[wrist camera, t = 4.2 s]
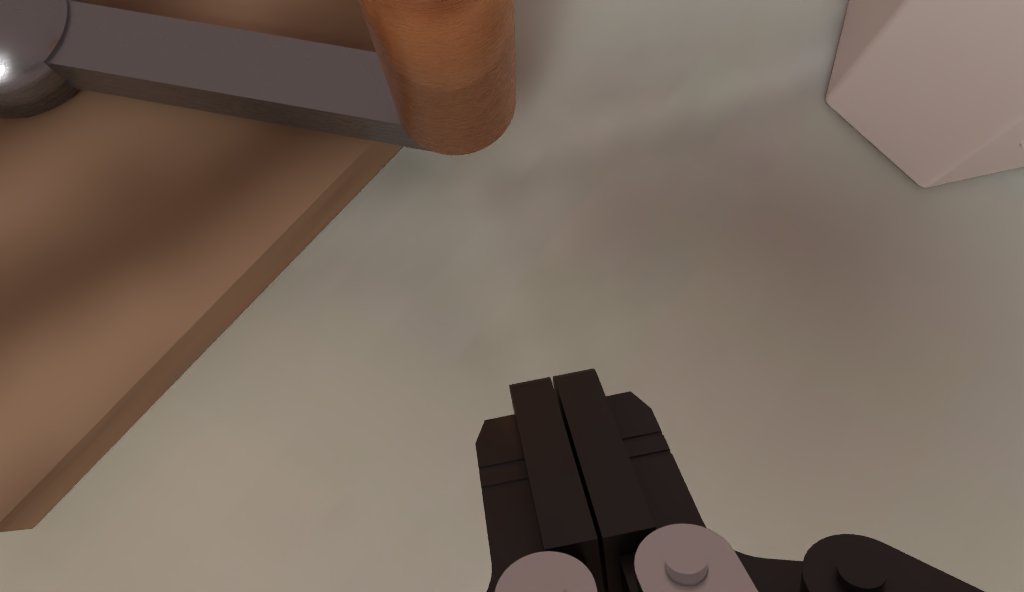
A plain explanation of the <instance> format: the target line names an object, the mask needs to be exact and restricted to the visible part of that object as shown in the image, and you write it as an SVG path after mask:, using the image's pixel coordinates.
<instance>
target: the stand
mask: <svg viewBox="0 0 1024 592" xmlns="http://www.w3.org/2000/svg"><path fill="white" fill-rule="evenodd" d="M81 1H82V2H83V3H88V4H94V5H100V6H106V7H111V8H117V9H123V10H129V11H135V12H141V13H147V14H153V15H159V16H165V17H170V18H176V19H182V20H188V21H194V22H200V23H206V24H212V25H218V26H224V27H230V28H235V29H241V30H247V31H253V32H259V33H265V34H271V35H277V36H283V37H289V38H294V39H300V40H306V41H312V42H318V43H324V44H330V45H336V46H342V47H348V48H353V49H359V50H365V51H371V52H376V50H375V47H374V44H373V42H372V39H371V36H370V33H369V30H368V27H367V24H366V21H365V19H364V16H363V13H362V10H361V7H360V4H359V1H358V0H81ZM402 147H403V146H399V145H393V144H388V143H382V142H376V141H371V140H365V139H359V138H354V137H348V136H342V135H337V134H331V133H325V132H320V131H314V130H308V129H303V128H297V127H292V126H286V125H280V124H275V123H269V122H263V121H258V120H252V119H246V118H241V117H235V116H229V115H224V114H218V113H212V112H207V111H201V110H195V109H190V108H184V107H178V106H173V105H167V104H161V103H156V102H150V101H144V100H139V99H133V98H127V97H122V96H116V95H110V94H105V93H99V92H93V91H88V90H82V89H79V90H78V91H77V92H76V93H75V94H74V95H73V96H71V97H70V98H69V99H68V100H66V101H65V102H64V103H62V104H60V105H59V106H57V107H56V108H54V109H52V110H50V111H48V112H45V113H42V114H39V115H36V116H32V117H28V118H20V119H5V118H0V532H5V531H15V530H24V529H33V528H34V527H35V526H36V525H37V524H38V523H39V522H40V520H41V519H42V518H43V517H44V516H45V515H46V514H47V513H48V512H49V511H50V510H51V509H52V508H53V507H54V506H55V505H56V504H57V503H58V502H59V501H60V500H61V499H62V498H63V497H64V496H65V495H66V494H67V493H68V492H69V491H70V490H71V489H72V487H73V486H74V485H75V484H76V483H77V482H78V481H79V480H80V479H81V478H82V477H83V476H84V475H85V474H86V473H87V472H88V471H89V470H90V469H91V468H92V467H93V466H94V465H95V464H96V463H97V462H98V461H99V460H100V459H101V458H102V457H103V456H104V454H105V453H106V452H107V451H108V450H109V449H110V448H111V447H112V446H113V445H114V444H115V443H116V442H117V441H118V440H119V439H120V438H121V437H122V436H123V435H124V434H125V433H126V432H127V431H128V430H129V429H130V428H131V427H132V426H133V425H134V424H135V423H136V421H137V420H138V419H139V418H140V417H141V416H142V415H143V414H144V413H145V412H146V411H147V410H148V409H149V408H150V407H151V406H152V405H153V404H154V403H155V402H156V401H157V400H158V399H159V398H160V397H161V396H162V395H163V394H164V393H165V392H166V391H167V390H168V388H169V387H170V386H171V385H172V384H173V383H174V382H175V381H176V380H177V379H178V378H179V377H180V376H181V375H182V374H183V373H184V372H185V371H186V370H187V369H188V368H189V367H190V366H191V365H192V364H193V363H194V362H195V361H196V360H197V359H198V358H199V357H200V355H201V354H202V353H203V352H204V351H205V350H206V349H207V348H208V347H209V346H210V345H211V344H212V343H213V342H214V341H215V340H216V339H217V338H218V337H219V336H220V335H221V334H222V333H223V332H224V331H225V330H226V329H227V328H228V327H229V326H230V325H231V324H232V322H233V321H234V320H235V319H236V318H237V317H238V316H239V315H240V314H241V313H242V312H243V311H244V310H245V309H246V308H247V307H248V306H249V305H250V304H251V303H252V302H253V301H254V300H255V299H256V298H257V297H258V296H259V295H260V294H261V293H262V292H263V291H264V289H265V288H266V287H267V286H268V285H269V284H270V283H271V282H272V281H273V280H274V279H275V278H276V277H277V276H278V275H279V274H280V273H281V272H282V271H283V270H284V269H285V268H286V267H287V266H288V265H289V264H290V263H291V262H292V261H293V260H294V259H295V258H296V256H297V255H298V254H299V253H300V252H301V251H302V250H303V249H304V248H305V247H306V246H307V245H308V244H309V243H310V242H311V241H312V240H313V239H314V238H315V237H316V236H317V235H318V234H319V233H320V232H321V231H322V230H323V229H324V228H325V227H326V226H327V225H328V223H329V222H330V221H331V220H332V219H333V218H334V217H335V216H336V215H337V214H338V213H339V212H340V211H341V210H342V209H343V208H344V207H345V206H346V205H347V204H348V203H349V202H350V201H351V200H352V199H353V198H354V197H355V196H356V195H357V194H358V193H359V192H360V190H361V189H362V188H363V187H364V186H365V185H366V184H367V183H368V182H369V181H370V180H371V179H372V178H373V177H374V176H375V175H376V174H377V173H378V172H379V171H380V170H381V169H382V168H383V167H384V166H385V165H386V164H387V163H388V162H389V161H390V160H391V159H392V157H393V156H394V155H395V154H396V153H397V152H398V151H399V150H400V149H401V148H402Z"/></svg>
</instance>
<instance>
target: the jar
mask: <svg viewBox="0 0 1024 592" xmlns="http://www.w3.org/2000/svg"><path fill="white" fill-rule="evenodd" d="M826 102H827V104H828V105H829V106H830V107H831V108H832V109H833V110H834V111H836V112H837V113H838V114H839V115H840V116H841V117H842V118H844V119H845V120H846V121H847V122H848V123H849V124H850V125H851V126H853V127H854V128H855V129H856V130H857V131H858V132H859V133H860V134H862V135H863V136H864V137H865V138H866V139H867V140H868V141H869V142H871V143H872V144H873V145H874V146H875V147H876V148H877V149H878V150H880V151H881V152H882V153H883V154H884V155H885V156H886V157H887V158H889V159H890V160H891V161H892V162H893V163H894V164H895V165H896V166H897V167H899V168H900V169H901V170H902V171H903V172H904V173H905V174H906V175H907V176H909V177H910V178H911V179H912V180H913V181H914V182H915V183H916V184H917V185H919V186H920V187H923V188H928V187H933V186H937V185H942V184H947V183H951V182H956V181H960V180H965V179H969V178H974V177H979V176H983V175H988V174H993V173H997V172H1002V171H1006V170H1011V169H1016V168H1020V167H1024V0H849V4H848V8H847V12H846V16H845V20H844V24H843V29H842V33H841V37H840V41H839V45H838V49H837V53H836V57H835V62H834V66H833V70H832V74H831V78H830V82H829V86H828V90H827V94H826Z"/></svg>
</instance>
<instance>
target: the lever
mask: <svg viewBox="0 0 1024 592" xmlns="http://www.w3.org/2000/svg"><path fill="white" fill-rule="evenodd" d="M358 1H359V4H360V7H361V10H362V13H363V16H364V19H365V21H366V24H367V27H368V30H369V33H370V36H371V39H372V42H373V44H374V47H375V50H376V52H371V51H365V50H359V49H353V48H348V47H342V46H336V45H330V44H324V43H318V42H312V41H306V40H300V39H294V38H289V37H283V36H277V35H271V34H265V33H259V32H253V31H247V30H241V29H235V28H230V27H224V26H218V25H212V24H206V23H200V22H194V21H188V20H182V19H176V18H170V17H165V16H159V15H153V14H147V13H141V12H135V11H129V10H123V9H117V8H111V7H106V6H100V5H94V4H88V3H83V2H82V1H81V0H0V118H5V119H20V118H28V117H32V116H36V115H39V114H42V113H45V112H48V111H50V110H52V109H54V108H56V107H57V106H59V105H60V104H62V103H64V102H65V101H66V100H68V99H69V98H70V97H71V96H73V95H74V94H75V93H76V92H77V91H78V90H79V89H82V90H88V91H93V92H99V93H105V94H110V95H116V96H122V97H127V98H133V99H139V100H144V101H150V102H156V103H161V104H167V105H173V106H178V107H184V108H190V109H195V110H201V111H207V112H212V113H218V114H224V115H229V116H235V117H241V118H246V119H252V120H258V121H263V122H269V123H275V124H280V125H286V126H292V127H297V128H303V129H308V130H314V131H320V132H325V133H331V134H337V135H342V136H348V137H354V138H359V139H365V140H371V141H376V142H382V143H388V144H393V145H399V146H405V147H410V148H416V149H422V150H427V151H433V152H436V153H440V154H446V155H464V154H469V153H473V152H476V151H479V150H481V149H483V148H485V147H487V146H489V145H490V144H492V143H493V142H495V141H496V140H497V139H498V138H499V137H500V136H501V135H502V134H503V133H504V132H505V130H506V129H507V127H508V126H509V124H510V122H511V120H512V118H513V115H514V111H515V106H516V75H515V24H514V0H358Z"/></svg>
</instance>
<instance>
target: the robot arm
mask: <svg viewBox="0 0 1024 592" xmlns="http://www.w3.org/2000/svg"><path fill="white" fill-rule="evenodd" d="M553 385H554V388H553ZM553 385H552V381H551V378H550V377H547V378H542V379H537V380H532V381H527V382H522V383H517V384H512V385H509V387H510V393H511V398H512V404H513V409H514V415H509V416H504V417H499V418H494V419H489V420H485V421H484V424H483V426H482V429H481V431H480V434H479V436H478V439H477V441H476V451H477V458H478V466H479V473H480V481H481V488H482V495H483V503H484V510H485V518H486V525H487V533H488V540H489V547H490V555H491V562H492V576H491V581H490V584H489V588H488V590H487V592H984V591H982V590H980V589H978V588H976V587H974V586H972V585H970V584H967V583H965V582H963V581H961V580H959V579H957V578H955V577H953V576H951V575H949V574H947V573H945V572H943V571H941V570H938V569H936V568H934V567H932V566H930V565H928V564H926V563H924V562H922V561H920V560H918V559H916V558H914V557H911V556H909V555H907V554H905V553H903V552H901V551H899V550H897V549H895V548H893V547H891V546H889V545H887V544H885V543H882V542H880V541H878V540H875V539H872V538H869V537H865V536H861V535H854V534H840V535H833V536H829V537H826V538H824V539H822V540H819V541H818V542H817V543H815V544H814V545H813V546H812V547H811V548H810V549H809V550H808V551H807V553H806V555H805V557H804V560H803V561H791V560H778V559H766V558H758V557H753V556H749V555H745V554H742V553H740V552H737V551H735V550H733V548H732V547H731V545H730V544H729V543H728V542H727V541H726V540H725V539H724V538H723V537H721V536H720V535H719V534H717V533H715V532H714V531H712V530H710V529H707V528H706V526H705V524H704V523H703V521H702V519H701V516H700V514H699V512H698V510H697V508H696V505H695V503H694V501H693V499H692V497H691V495H690V492H689V490H688V488H687V486H686V484H685V481H684V479H683V477H682V475H681V473H680V470H679V468H678V466H677V464H676V462H675V459H674V457H673V455H672V454H671V453H670V449H669V446H668V444H667V442H666V440H665V438H664V435H662V432H661V429H660V427H659V424H658V422H657V420H656V418H655V416H654V414H653V411H652V409H651V408H650V407H649V406H648V405H646V404H645V403H644V402H643V401H641V400H640V399H639V398H638V397H637V396H635V395H634V394H633V393H632V392H625V393H620V394H615V395H610V396H605V394H604V391H603V388H602V386H601V383H600V381H599V378H598V375H597V373H596V371H595V369H588V370H583V371H578V372H573V373H568V374H563V375H558V376H553Z"/></svg>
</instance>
